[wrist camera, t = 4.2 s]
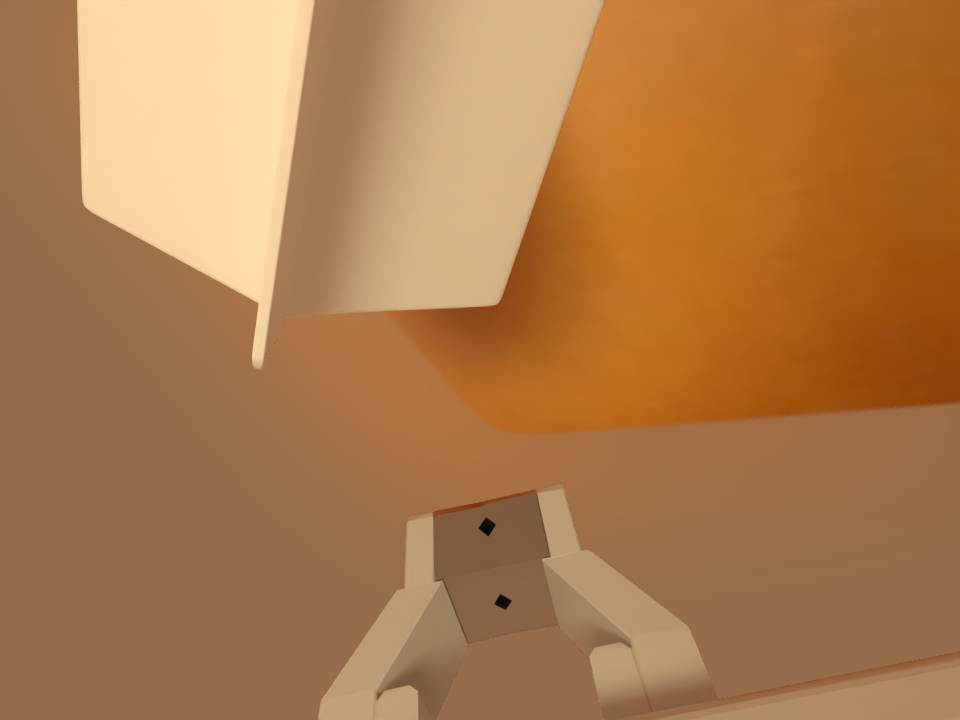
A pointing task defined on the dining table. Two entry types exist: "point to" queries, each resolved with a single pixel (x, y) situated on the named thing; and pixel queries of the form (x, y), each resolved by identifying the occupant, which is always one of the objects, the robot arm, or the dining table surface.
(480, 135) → the milk
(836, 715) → the robot arm
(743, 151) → the dining table surface
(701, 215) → the dining table surface
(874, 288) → the dining table surface
